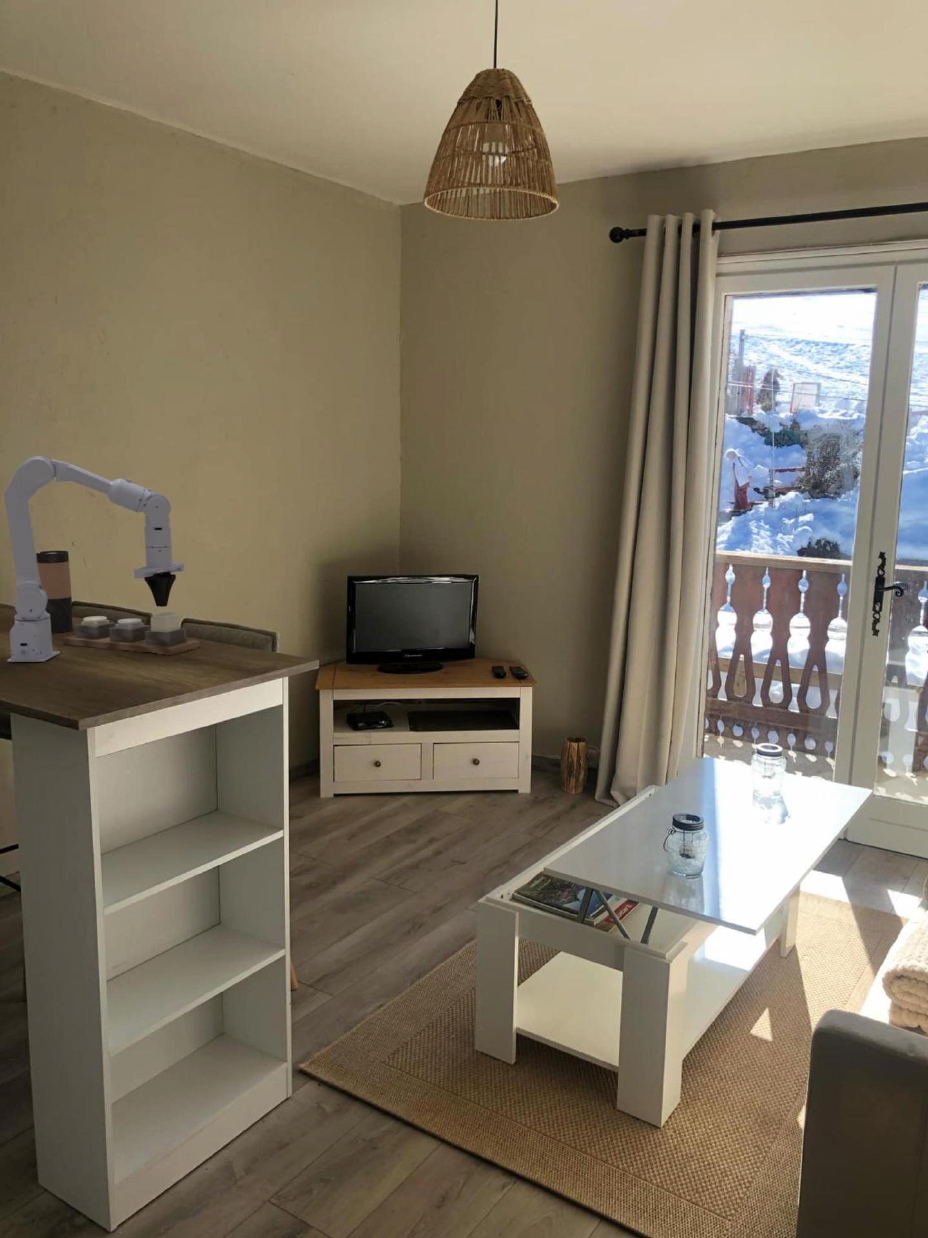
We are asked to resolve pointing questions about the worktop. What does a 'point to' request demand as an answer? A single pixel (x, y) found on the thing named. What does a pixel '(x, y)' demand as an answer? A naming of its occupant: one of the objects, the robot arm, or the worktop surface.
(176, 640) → the knob backing plate
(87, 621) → the knob
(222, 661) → the worktop surface
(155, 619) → the knob
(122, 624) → the knob
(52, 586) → the travel mug
